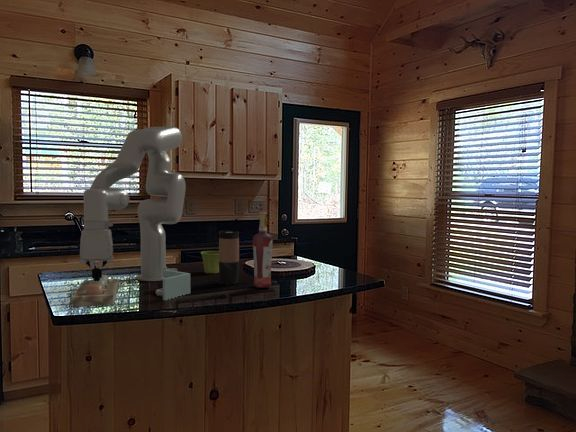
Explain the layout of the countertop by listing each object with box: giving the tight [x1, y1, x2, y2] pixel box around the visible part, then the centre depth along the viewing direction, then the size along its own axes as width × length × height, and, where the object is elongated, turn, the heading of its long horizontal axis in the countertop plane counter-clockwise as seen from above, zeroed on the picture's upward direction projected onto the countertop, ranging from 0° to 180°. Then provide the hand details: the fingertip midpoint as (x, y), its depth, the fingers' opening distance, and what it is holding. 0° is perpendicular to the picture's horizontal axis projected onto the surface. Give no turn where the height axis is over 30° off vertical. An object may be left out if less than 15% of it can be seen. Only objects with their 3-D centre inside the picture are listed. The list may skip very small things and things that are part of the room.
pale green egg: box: [89, 278, 105, 289], centre depth 165 cm, size 5×5×5 cm
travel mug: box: [218, 229, 240, 286], centre depth 187 cm, size 8×8×20 cm
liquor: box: [252, 211, 274, 289], centre depth 180 cm, size 7×7×28 cm
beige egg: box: [92, 274, 108, 284], centre depth 172 cm, size 5×5×5 cm
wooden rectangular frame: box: [71, 278, 120, 308], centre depth 165 cm, size 12×26×3 cm, turn 15°
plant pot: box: [200, 250, 219, 274], centre depth 208 cm, size 9×9×9 cm
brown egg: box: [86, 284, 103, 295], centre depth 157 cm, size 5×5×5 cm
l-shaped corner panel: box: [155, 270, 191, 301], centre depth 168 cm, size 12×12×8 cm
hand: (97, 280), depth 164 cm, fingers closed
